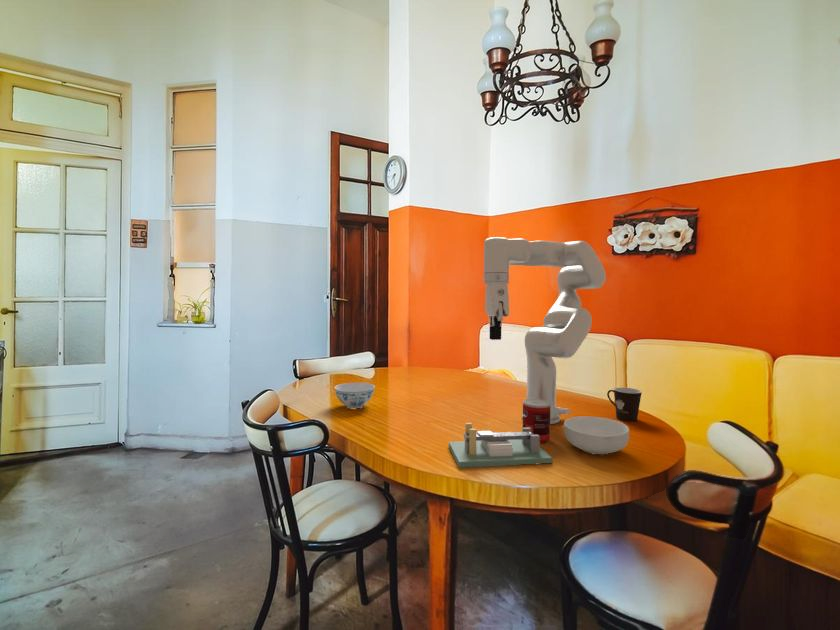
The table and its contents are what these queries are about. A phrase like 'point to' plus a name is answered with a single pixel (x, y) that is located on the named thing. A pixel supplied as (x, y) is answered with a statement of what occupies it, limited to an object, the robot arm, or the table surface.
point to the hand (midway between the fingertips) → (495, 339)
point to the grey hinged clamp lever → (500, 435)
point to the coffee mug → (626, 403)
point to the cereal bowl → (596, 434)
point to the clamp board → (497, 461)
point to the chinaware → (354, 394)
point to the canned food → (537, 417)
